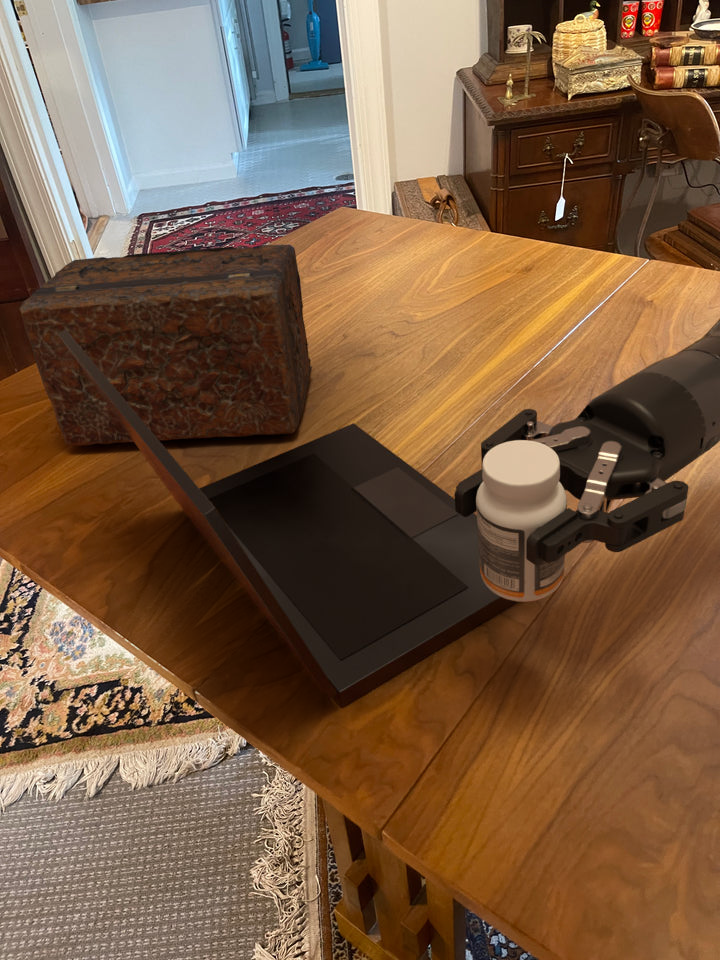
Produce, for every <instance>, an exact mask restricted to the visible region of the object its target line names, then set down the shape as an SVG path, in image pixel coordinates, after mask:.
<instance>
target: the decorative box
mask: <svg viewBox="0 0 720 960" xmlns="http://www.w3.org/2000/svg"><path fill="white" fill-rule="evenodd" d="M296 254H297V253H296V249H295V247H294V246H293V245H291V244H262V245H260V244H259V245H255V246H253V247H251V246H247V247H234V246H224V247H212V248H211V247H210V248H201V249H200V248H199V249H189V250H188V249H187V250H186V249H185V250H172V251H159V252H146V253H145V252H144V253H134V254H126V255H124V256H113V257H104V256H98V257H92V258H81V259H80V258H79V259H73V260H72V261H70V262H68V263H67V264H66V265H64V266H63V267H62V268H61V269H59V270H58V271H56V272H55V274H54V276H52V277H51V278H49V280H47V281H46V282H45V283H42V284H41V286H40V287H39V288H38V289H36V290H35V291H33V293H31V295H30V296H29V297H28V298H26V299H25V300H24V301H22V303H21V305H20V306H19V311H20V314H21V318H22V321H23V326H24V330H25V334H26V337H27V338H28V340H29V343H30V346H31V349H32V352H33V357H34V361H35V364H36V367H37V370H38V373H39V376H40V379H41V382H42V384H43V388H44V390H45V393H46V395H47V397H48V399H49V401H50V403H51V406H52V409H53V412H54V415H55V419H56V422H57V424H58V426H59V429H60V431H61V434H62V436H63V441H64V442H65V444H66V445H68V446H77V447H79V446H91V445H94V444H103V445H109V444H116V443H117V444H118V443H135V442H134V441H133V440H132V438H131V437H130V435H129V434H128V433H127V431H126V430H125V428H124V427H123V426H122V424H121V423H120V421H119V420H118V418H117V417H116V416H115V414H114V413H113V411H112V410H111V409H110V407H109V406H108V404H107V403H106V402H105V400H104V399H103V397H102V396H101V395H100V393H99V392H98V390H97V389H96V387H95V386H94V385H93V383H92V382H91V380H90V379H89V378H88V376H87V375H86V373H85V372H84V371H83V369H82V368H81V366H80V365H79V363H78V362H77V361H76V359H75V358H74V356H73V355H72V354H71V352H70V351H69V349H68V348H67V347H66V345H65V344H64V342H63V341H62V340H61V338H60V337H59V335H58V333H60V332H62V331H63V330H67V331H68V333H69V334H70V335H71V336H72V337H73V339H74V340H75V341H76V342H77V343H78V345H79V346H80V347H81V348H82V349H83V351H84V352H85V353H86V354H87V355H88V356H89V358H90V359H91V360H92V361H93V362H94V364H95V365H96V366H97V367H98V368H99V370H100V371H101V372H102V373H103V374H104V376H105V377H106V378H107V379H108V380H109V382H110V383H111V384H112V385H113V386H114V387H115V389H116V390H117V391H118V392H119V393H120V395H121V396H122V397H123V398H124V399H125V401H126V402H127V403H128V404H129V405H130V407H131V408H132V409H133V410H134V411H135V413H136V414H137V415H138V416H139V417H140V418H141V420H142V421H143V422H144V423H145V424H146V426H147V427H148V428H149V429H150V430H151V432H152V433H153V434H154V435H155V436H156V438H157V439H158V440H159V441H171V440H172V441H173V440H183V439H186V440H187V439H188V440H189V439H209V438H232V437H233V438H235V437H240V438H241V437H249V436H258V435H259V436H264V435H265V436H268V435H269V436H276V435H286V434H292V433H295V431H296V430H298V427H299V423H300V419H301V417H302V415H303V412H304V411H303V410H304V409H305V403H306V397H307V394H308V388H309V386H310V379H311V373H312V369H313V366H311V358H310V357H309V343H308V338H307V331H306V325H305V319H304V311H303V309H304V304H303V297H302V286H301V285H302V284H301V276H300V272H299V268H298V262H297V255H296Z"/></svg>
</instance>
